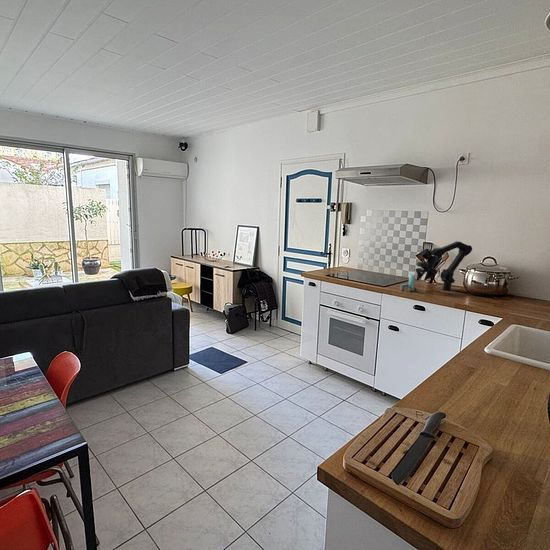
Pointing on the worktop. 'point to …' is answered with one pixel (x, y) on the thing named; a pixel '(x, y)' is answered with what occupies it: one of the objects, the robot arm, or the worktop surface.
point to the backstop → (403, 286)
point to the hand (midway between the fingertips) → (420, 280)
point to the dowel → (411, 282)
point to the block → (409, 289)
